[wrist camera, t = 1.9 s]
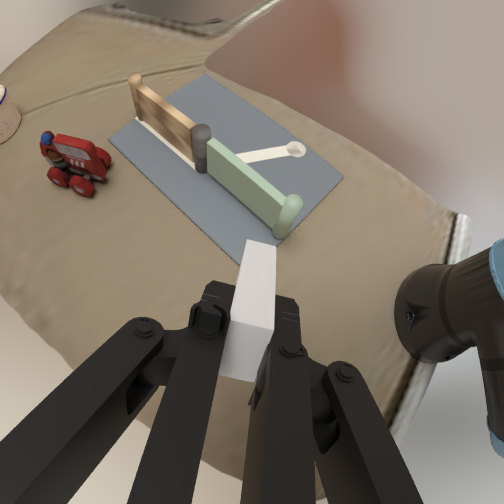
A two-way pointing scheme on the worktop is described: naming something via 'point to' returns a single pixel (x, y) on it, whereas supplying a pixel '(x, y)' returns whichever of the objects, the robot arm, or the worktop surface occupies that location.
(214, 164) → the hinged fence panel
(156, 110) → the fixed fence panel
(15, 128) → the teacup with lid
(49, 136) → the toy fire truck
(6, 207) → the worktop surface
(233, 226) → the card
